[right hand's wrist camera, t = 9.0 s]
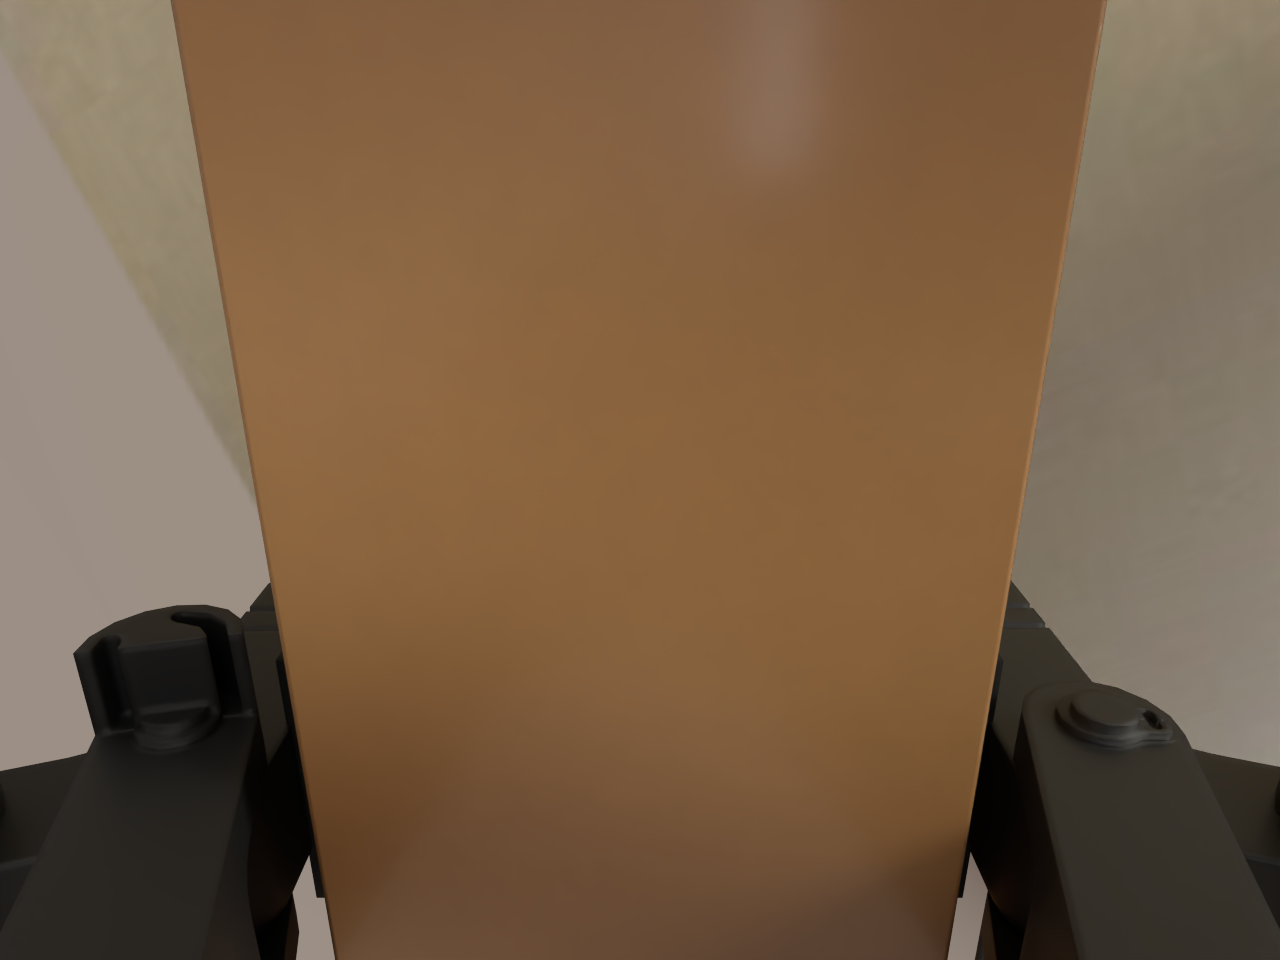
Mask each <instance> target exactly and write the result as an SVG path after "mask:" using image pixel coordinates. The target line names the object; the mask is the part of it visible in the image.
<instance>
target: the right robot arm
mask: <svg viewBox="0 0 1280 960" xmlns="http://www.w3.org/2000/svg"><path fill="white" fill-rule="evenodd" d="M73 655H74V658H75V662H76V666H77V670H78V673H79V677H80V681H81V684H82V688H83V692H84V695H85V699H86V703H87V707H88V710H89V714H90V718H91V721H92V725H93V729H94V732H95V737H94V739H93V741H92V744H91V746H90V748H89V750H88V752H87V753H85V754H81V755H77V756H73V757H70V758H65V759H60V760H55V761H50V762H44V763H39V764H35V765H29V766H25V767H20V768H14V769H9V770H4V771H0V960H296V954H297V946H298V937H299V928H298V921H297V914H296V909H295V904H294V898H293V893H292V892H293V890H294V887H295V885H296V883H297V881H298V879H299V876H300V874H301V872H302V870H303V867H304V865H305V863H306V861H307V858H308V856H310V862H311V868H312V873H313V879H314V885H315V891H316V896H317V898H325V897H324V891H323V885H322V879H321V873H320V868H319V862H318V856H317V850H316V844H315V838H314V833H313V827H312V821H311V815H310V809H309V803H308V798H307V792H306V786H305V780H304V774H303V768H302V763H301V757H300V751H299V745H298V739H297V733H296V728H295V722H294V716H293V710H292V704H291V699H290V693H289V687H288V681H287V675H286V669H285V664H284V658H283V652H282V646H281V640H280V634H279V629H278V623H277V617H276V611H275V605H274V599H273V594H272V588H271V583H269V584H268V585H267V586H266V587H265V589H264V590H263V591H262V592H261V594H260V595H259V596H258V597H257V599H256V600H255V601H254V603H253V604H252V605H251V606H250V612H246V613H245V614H244V615H243V616H242V618H241V619H240V618H239V617H237V616H236V615H235V614H233V613H232V612H231V611H229V610H228V609H223V608H218V607H214V606H209V605H176V606H171V607H166V608H161V609H156V610H151V611H145V612H143V613H140V614H137V615H134V616H131V617H128V618H126V619H123V620H120V621H117V622H115V623H113V624H111V625H109V626H108V627H106V628H104V629H102V630H101V631H99V632H97V633H95V634H94V635H92V636H90V637H89V638H88V639H87V640H86V641H85V642H84V643H83V644H82V645H81V646H80V647H79V648H78V649H77V650H76V651H75V652H74V653H73ZM970 852H971V853H972V856H973V858H974V860H975V862H976V865H977V867H978V869H979V871H980V873H981V876H982V878H983V880H984V882H985V885H986V887H987V889H988V893H987V898H986V903H985V909H984V914H983V919H982V925H981V930H980V935H979V941H978V946H977V952H976V957H975V960H1280V767H1277V766H1271V765H1266V764H1261V763H1256V762H1251V761H1246V760H1241V759H1236V758H1231V757H1225V756H1220V755H1215V754H1211V753H1207V752H1203V751H1199V750H1195V749H1192V748H1191V746H1190V744H1189V742H1188V740H1187V738H1186V736H1185V734H1184V733H1183V731H1182V730H1181V729H1180V728H1179V726H1178V725H1177V724H1176V723H1175V722H1174V720H1173V719H1172V718H1171V717H1170V716H1169V715H1168V714H1166V713H1165V712H1163V711H1162V710H1160V709H1159V708H1157V707H1156V706H1155V705H1153V704H1152V703H1150V702H1149V701H1147V700H1145V699H1143V698H1140V697H1138V696H1136V695H1133V694H1131V693H1129V692H1126V691H1124V690H1121V689H1119V688H1116V687H1112V686H1107V685H1103V684H1098V683H1094V682H1092V681H1091V680H1090V679H1089V677H1088V676H1087V675H1086V674H1085V672H1084V671H1083V670H1082V669H1081V667H1080V666H1079V665H1078V664H1077V662H1076V661H1075V660H1074V659H1073V657H1072V656H1071V655H1070V654H1069V652H1068V651H1067V650H1066V649H1065V647H1064V646H1063V645H1062V644H1061V642H1060V641H1059V640H1058V639H1057V637H1056V636H1055V635H1054V634H1053V632H1052V631H1051V630H1050V629H1049V628H1045V622H1044V621H1043V620H1042V619H1041V617H1040V616H1039V615H1038V614H1037V612H1036V611H1035V610H1034V609H1033V608H1030V604H1029V602H1028V601H1027V600H1026V599H1025V597H1024V596H1023V595H1022V594H1021V592H1020V591H1019V590H1018V589H1017V587H1016V586H1015V585H1014V584H1013V582H1012V581H1011V580H1010V586H1009V592H1008V598H1007V604H1006V610H1005V616H1004V622H1003V628H1002V634H1001V640H1000V646H999V652H998V658H997V664H996V670H995V676H994V682H993V688H992V694H991V700H990V706H989V712H988V718H987V724H986V730H985V736H984V742H983V748H982V754H981V760H980V766H979V772H978V778H977V784H976V790H975V796H974V802H973V808H972V814H971V820H970V826H969V832H968V838H967V844H966V850H965V856H964V862H963V868H962V874H961V880H960V886H959V892H958V898H962V897H963V892H964V886H965V880H966V875H967V869H968V863H969V857H970Z"/></svg>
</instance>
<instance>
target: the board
mask: <svg viewBox="0 0 1280 960" xmlns="http://www.w3.org/2000/svg"><path fill="white" fill-rule="evenodd" d="M171 5H172V11H173V16H174V22H175V28H176V34H177V40H178V46H179V51H180V57H181V63H182V69H183V75H184V80H185V86H186V92H187V98H188V104H189V110H190V115H191V121H192V127H193V133H194V139H195V145H196V150H197V156H198V162H199V168H200V174H201V180H202V185H203V191H204V197H205V203H206V209H207V215H208V220H209V226H210V232H211V238H212V244H213V250H214V255H215V261H216V267H217V273H218V279H219V285H220V290H221V296H222V302H223V308H224V314H225V320H226V325H227V331H228V337H229V343H230V349H231V355H232V360H233V366H234V372H235V378H236V384H237V389H238V395H239V401H240V407H241V413H242V419H243V424H244V430H245V436H246V442H247V448H248V454H249V459H250V465H251V471H252V477H253V483H254V489H255V494H256V500H257V506H258V512H259V518H260V524H261V529H262V535H263V541H264V547H265V553H266V558H267V564H268V570H269V576H270V582H271V588H272V594H273V599H274V605H275V611H276V617H277V623H278V629H279V634H280V640H281V646H282V652H283V658H284V664H285V669H286V675H287V681H288V687H289V693H290V699H291V704H292V710H293V716H294V722H295V728H296V733H297V739H298V745H299V751H300V757H301V763H302V768H303V774H304V780H305V786H306V792H307V798H308V803H309V809H310V815H311V821H312V827H313V833H314V838H315V844H316V850H317V856H318V862H319V868H320V873H321V879H322V885H323V891H324V897H325V903H326V908H327V914H328V920H329V926H330V932H331V937H332V943H333V949H334V955H335V960H947V958H948V952H949V946H950V940H951V934H952V928H953V922H954V916H955V910H956V904H957V898H958V892H959V886H960V880H961V874H962V868H963V862H964V856H965V850H966V844H967V838H968V832H969V826H970V820H971V814H972V808H973V802H974V796H975V790H976V784H977V778H978V772H979V766H980V760H981V754H982V748H983V742H984V736H985V730H986V724H987V718H988V712H989V706H990V700H991V694H992V688H993V682H994V676H995V670H996V664H997V658H998V652H999V646H1000V640H1001V634H1002V628H1003V622H1004V616H1005V610H1006V604H1007V598H1008V592H1009V586H1010V580H1011V574H1012V568H1013V562H1014V556H1015V550H1016V544H1017V538H1018V532H1019V526H1020V520H1021V514H1022V508H1023V502H1024V496H1025V490H1026V484H1027V478H1028V472H1029V466H1030V460H1031V454H1032V448H1033V442H1034V436H1035V430H1036V424H1037V418H1038V412H1039V406H1040V400H1041V394H1042V388H1043V382H1044V376H1045V370H1046V364H1047V358H1048V352H1049V346H1050V340H1051V334H1052V328H1053V322H1054V316H1055V310H1056V304H1057V298H1058V292H1059V286H1060V280H1061V274H1062V268H1063V262H1064V256H1065V250H1066V244H1067V238H1068V232H1069V226H1070V220H1071V214H1072V208H1073V203H1074V197H1075V191H1076V185H1077V179H1078V173H1079V167H1080V161H1081V155H1082V149H1083V143H1084V137H1085V131H1086V125H1087V119H1088V113H1089V107H1090V101H1091V95H1092V89H1093V83H1094V77H1095V71H1096V65H1097V59H1098V53H1099V47H1100V41H1101V35H1102V29H1103V23H1104V17H1105V11H1106V5H1107V0H171Z"/></svg>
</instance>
